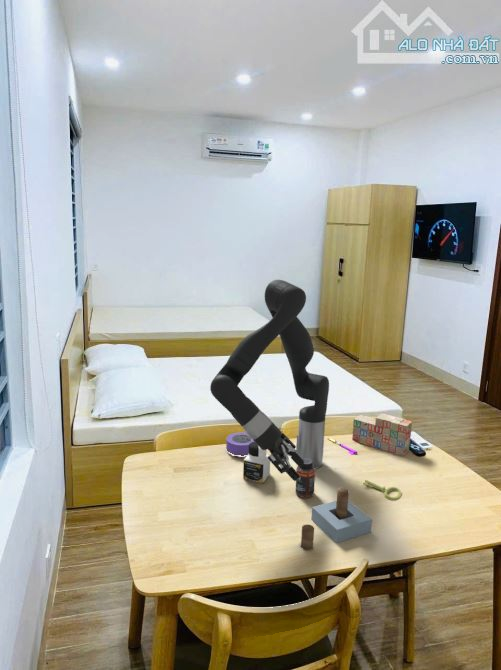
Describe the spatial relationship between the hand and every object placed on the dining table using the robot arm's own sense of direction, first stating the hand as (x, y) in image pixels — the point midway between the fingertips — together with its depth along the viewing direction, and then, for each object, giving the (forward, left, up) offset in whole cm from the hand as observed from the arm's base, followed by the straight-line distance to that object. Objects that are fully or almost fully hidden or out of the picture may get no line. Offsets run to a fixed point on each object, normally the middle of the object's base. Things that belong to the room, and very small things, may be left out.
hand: (299, 471), depth 141 cm
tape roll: (-47, +4, -15) cm, 49 cm away
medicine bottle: (-27, 0, -15) cm, 30 cm away
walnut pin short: (+12, -5, -15) cm, 20 cm away
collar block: (+8, +9, -15) cm, 19 cm away
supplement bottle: (-11, +9, -15) cm, 21 cm away
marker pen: (-35, +41, -15) cm, 56 cm away
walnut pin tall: (+8, +9, -15) cm, 19 cm away
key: (-1, +34, -15) cm, 37 cm away
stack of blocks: (-29, +57, -15) cm, 65 cm away
